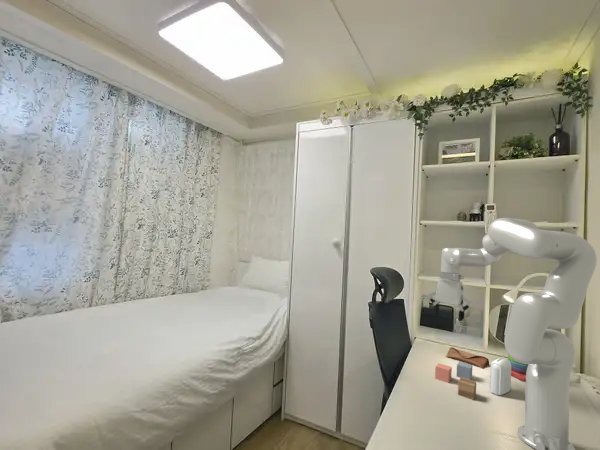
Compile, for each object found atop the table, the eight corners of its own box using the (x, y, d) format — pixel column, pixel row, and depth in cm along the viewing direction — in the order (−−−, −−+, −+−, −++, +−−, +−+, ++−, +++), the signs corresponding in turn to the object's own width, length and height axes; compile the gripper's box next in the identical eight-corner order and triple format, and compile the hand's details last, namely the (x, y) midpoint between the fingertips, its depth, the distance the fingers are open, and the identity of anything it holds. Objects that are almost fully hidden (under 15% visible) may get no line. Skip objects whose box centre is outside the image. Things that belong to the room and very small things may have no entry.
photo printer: (499, 386, 117) (501, 354, 118) (512, 391, 114) (513, 358, 115) (487, 391, 112) (488, 358, 113) (500, 397, 108) (501, 362, 109)
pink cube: (448, 383, 117) (448, 370, 117) (434, 378, 120) (435, 366, 120) (451, 379, 121) (451, 367, 121) (438, 375, 124) (438, 363, 124)
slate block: (469, 380, 121) (470, 368, 121) (456, 376, 124) (456, 364, 124) (472, 377, 125) (472, 365, 125) (458, 373, 128) (459, 361, 128)
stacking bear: (499, 372, 133) (501, 332, 134) (513, 369, 137) (514, 331, 138) (526, 383, 123) (527, 339, 124) (540, 380, 127) (541, 338, 128)
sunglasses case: (443, 356, 147) (446, 343, 150) (447, 361, 151) (450, 348, 154) (485, 369, 134) (487, 355, 137) (488, 374, 138) (490, 359, 141)
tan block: (473, 400, 104) (474, 386, 105) (457, 395, 107) (458, 381, 108) (475, 395, 108) (476, 381, 108) (460, 390, 111) (461, 376, 112)
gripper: (475, 279, 121) (473, 321, 120) (433, 274, 134) (431, 312, 132) (469, 280, 116) (468, 324, 115) (426, 274, 128) (424, 313, 127)
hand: (448, 317), depth 124 cm, fingers open, 9 cm apart
